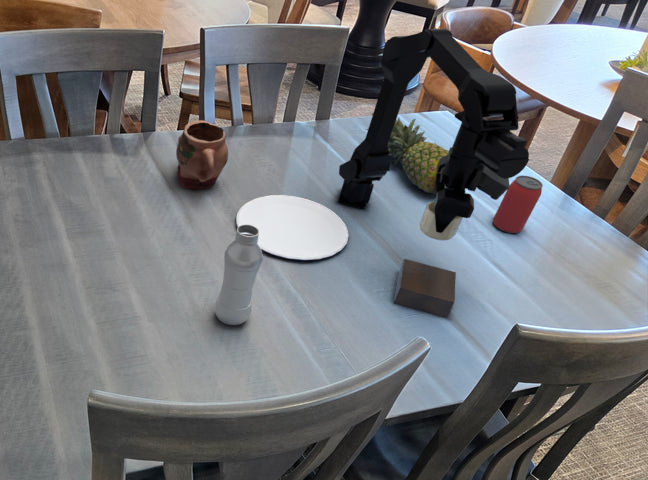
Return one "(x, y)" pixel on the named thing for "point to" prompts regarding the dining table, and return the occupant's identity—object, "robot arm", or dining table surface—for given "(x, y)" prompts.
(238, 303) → the plastic bottle
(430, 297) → the riser
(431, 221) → the bowl
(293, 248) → the plate
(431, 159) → the fruit
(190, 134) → the decorative planter
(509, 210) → the beer can
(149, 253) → the dining table surface
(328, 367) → the dining table surface
